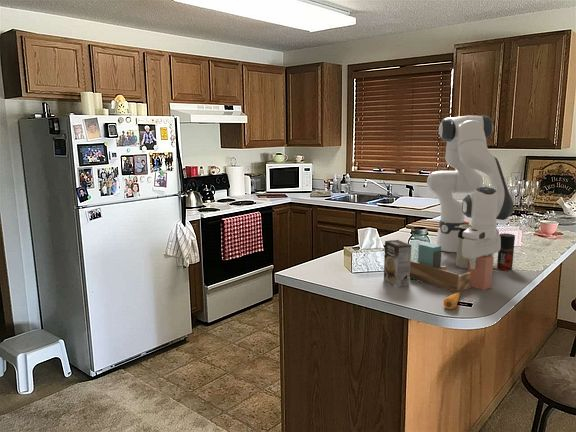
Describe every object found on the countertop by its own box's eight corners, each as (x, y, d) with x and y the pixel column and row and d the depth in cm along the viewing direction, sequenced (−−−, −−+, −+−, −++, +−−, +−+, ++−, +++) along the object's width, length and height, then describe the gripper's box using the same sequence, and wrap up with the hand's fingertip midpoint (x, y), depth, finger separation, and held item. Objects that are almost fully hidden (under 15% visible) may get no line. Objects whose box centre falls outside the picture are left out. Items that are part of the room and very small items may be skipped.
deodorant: (496, 270, 199) (499, 235, 196) (497, 266, 204) (499, 232, 201) (511, 271, 196) (515, 237, 193) (512, 268, 201) (515, 234, 199)
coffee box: (382, 279, 187) (384, 240, 184) (396, 277, 190) (397, 239, 187) (396, 286, 179) (397, 246, 176) (410, 284, 181) (411, 244, 178)
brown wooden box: (422, 273, 195) (423, 257, 194) (469, 287, 178) (471, 270, 176) (408, 277, 190) (409, 260, 189) (455, 292, 172) (456, 274, 171)
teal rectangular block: (425, 270, 192) (426, 242, 190) (440, 275, 186) (442, 246, 184) (417, 272, 189) (418, 244, 187) (432, 277, 183) (434, 248, 181)
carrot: (451, 313, 156) (458, 302, 154) (439, 306, 157) (445, 295, 156) (462, 300, 173) (468, 290, 171) (451, 293, 175) (457, 283, 173)
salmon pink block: (473, 282, 184) (475, 252, 182) (491, 287, 178) (493, 256, 176) (465, 284, 181) (467, 254, 179) (483, 290, 175) (486, 259, 173)
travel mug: (473, 270, 199) (476, 229, 195) (454, 267, 202) (457, 227, 199) (476, 265, 205) (479, 225, 202) (457, 263, 209) (460, 223, 206)
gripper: (491, 226, 184) (488, 260, 186) (459, 233, 172) (457, 269, 174) (506, 229, 178) (503, 263, 181) (475, 236, 167) (472, 273, 169)
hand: (480, 266), depth 178 cm, fingers open, 8 cm apart
